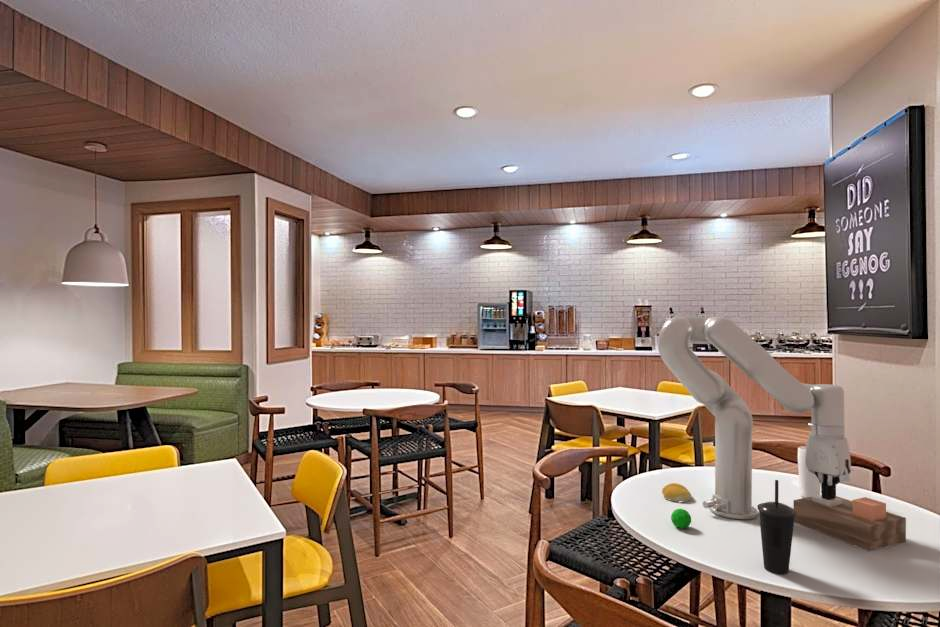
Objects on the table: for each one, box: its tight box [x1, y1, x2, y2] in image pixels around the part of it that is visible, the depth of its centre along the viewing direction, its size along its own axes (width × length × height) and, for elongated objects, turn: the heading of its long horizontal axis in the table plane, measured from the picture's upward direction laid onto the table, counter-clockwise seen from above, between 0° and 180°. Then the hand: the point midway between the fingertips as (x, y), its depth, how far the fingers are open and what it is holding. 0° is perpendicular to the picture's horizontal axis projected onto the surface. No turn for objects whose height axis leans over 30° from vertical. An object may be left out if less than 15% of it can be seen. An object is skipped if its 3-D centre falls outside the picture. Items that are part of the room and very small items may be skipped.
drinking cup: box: [756, 479, 796, 575], centre depth 126 cm, size 8×8×20 cm
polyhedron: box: [670, 508, 692, 529], centre depth 151 cm, size 5×5×5 cm
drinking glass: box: [797, 445, 821, 498], centre depth 174 cm, size 7×7×15 cm
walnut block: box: [792, 495, 907, 552], centre depth 148 cm, size 14×20×6 cm
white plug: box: [812, 494, 842, 507], centre depth 153 cm, size 5×5×4 cm
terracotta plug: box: [852, 496, 887, 521], centre depth 143 cm, size 5×5×4 cm
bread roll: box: [661, 482, 692, 502], centre depth 174 cm, size 8×9×4 cm
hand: (828, 498), depth 153 cm, fingers closed
